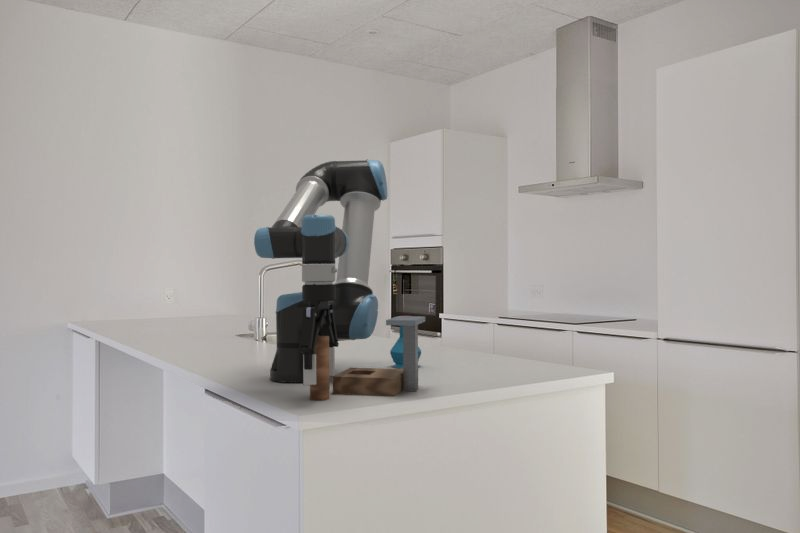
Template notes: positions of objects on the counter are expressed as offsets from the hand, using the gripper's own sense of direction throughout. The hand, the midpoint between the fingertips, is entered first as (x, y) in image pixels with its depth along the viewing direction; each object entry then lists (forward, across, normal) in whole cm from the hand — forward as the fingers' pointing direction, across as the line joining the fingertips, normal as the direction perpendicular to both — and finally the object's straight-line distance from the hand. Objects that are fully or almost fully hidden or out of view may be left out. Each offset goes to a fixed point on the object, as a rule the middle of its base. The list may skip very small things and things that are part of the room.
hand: (319, 379), depth 151 cm
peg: (+4, 0, 0) cm, 4 cm away
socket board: (+4, +13, -8) cm, 16 cm away
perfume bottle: (+4, +50, -9) cm, 51 cm away
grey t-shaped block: (+4, +14, -17) cm, 22 cm away
